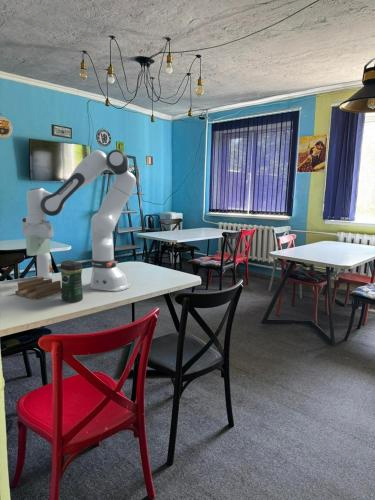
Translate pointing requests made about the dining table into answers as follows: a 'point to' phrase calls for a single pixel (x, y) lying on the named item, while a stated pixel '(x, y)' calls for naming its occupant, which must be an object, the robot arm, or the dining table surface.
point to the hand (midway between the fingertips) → (38, 245)
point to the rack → (38, 288)
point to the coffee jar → (71, 281)
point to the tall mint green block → (36, 245)
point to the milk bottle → (44, 265)
